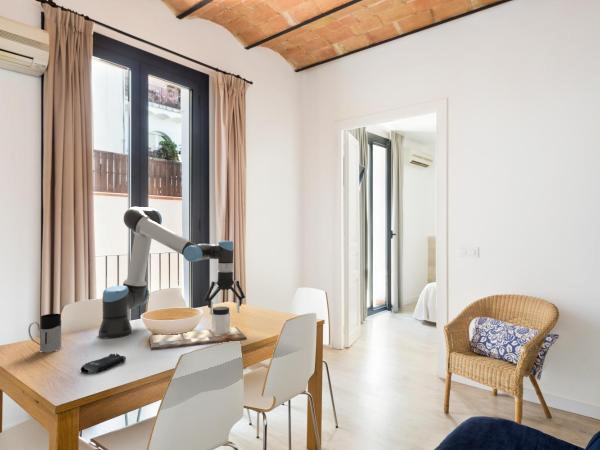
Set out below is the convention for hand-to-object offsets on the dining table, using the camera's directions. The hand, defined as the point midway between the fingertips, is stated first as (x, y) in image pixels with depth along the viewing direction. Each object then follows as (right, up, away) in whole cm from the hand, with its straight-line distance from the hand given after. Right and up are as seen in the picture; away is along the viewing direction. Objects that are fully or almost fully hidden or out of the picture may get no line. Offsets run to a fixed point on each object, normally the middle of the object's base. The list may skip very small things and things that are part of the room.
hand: (224, 313), depth 199 cm
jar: (-2, -9, -1) cm, 10 cm away
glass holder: (-72, -10, -29) cm, 78 cm away
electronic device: (-38, -11, -47) cm, 62 cm away
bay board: (-11, -10, -8) cm, 17 cm away
